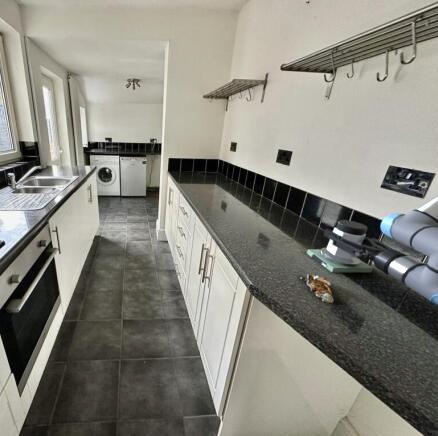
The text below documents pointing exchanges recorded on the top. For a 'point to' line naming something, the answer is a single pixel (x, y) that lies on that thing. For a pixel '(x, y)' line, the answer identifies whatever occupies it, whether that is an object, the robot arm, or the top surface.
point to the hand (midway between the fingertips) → (336, 232)
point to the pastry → (320, 287)
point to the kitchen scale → (338, 267)
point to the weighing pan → (339, 258)
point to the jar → (347, 236)
